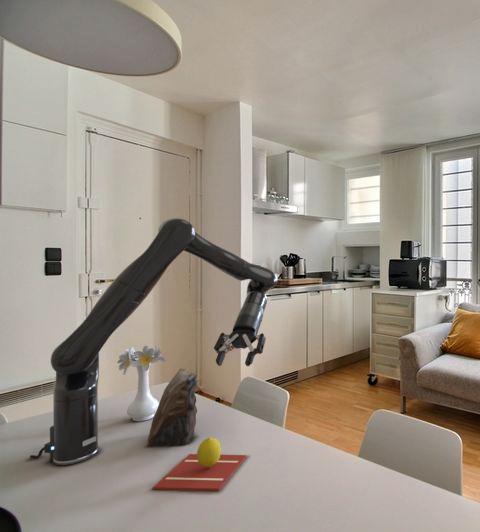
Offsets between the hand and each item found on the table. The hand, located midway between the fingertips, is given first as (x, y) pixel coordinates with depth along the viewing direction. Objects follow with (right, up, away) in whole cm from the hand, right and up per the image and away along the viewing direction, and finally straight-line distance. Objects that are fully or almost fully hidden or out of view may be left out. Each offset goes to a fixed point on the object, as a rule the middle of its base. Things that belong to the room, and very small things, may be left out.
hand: (232, 364), depth 109 cm
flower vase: (-40, -23, +18) cm, 50 cm away
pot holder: (-1, -24, -14) cm, 28 cm away
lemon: (0, -24, -13) cm, 27 cm away
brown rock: (-20, -24, +4) cm, 32 cm away
